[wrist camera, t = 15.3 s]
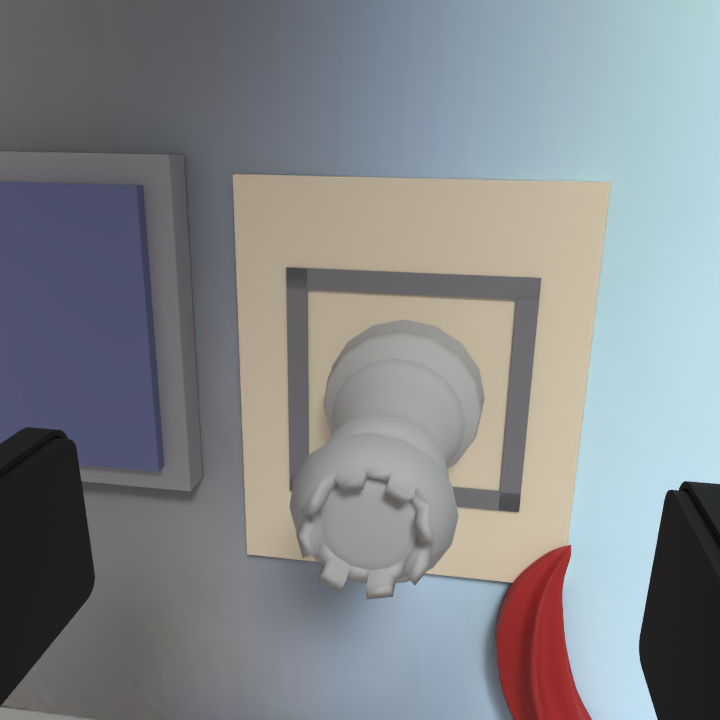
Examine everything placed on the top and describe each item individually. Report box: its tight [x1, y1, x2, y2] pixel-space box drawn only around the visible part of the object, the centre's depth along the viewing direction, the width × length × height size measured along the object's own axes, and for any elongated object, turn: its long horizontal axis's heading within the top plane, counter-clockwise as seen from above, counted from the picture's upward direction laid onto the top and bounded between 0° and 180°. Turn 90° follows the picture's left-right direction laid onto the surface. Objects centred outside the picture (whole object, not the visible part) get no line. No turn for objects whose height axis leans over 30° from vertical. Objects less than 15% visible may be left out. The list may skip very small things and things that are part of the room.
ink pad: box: [0, 151, 203, 492], centre depth 20 cm, size 10×8×1 cm
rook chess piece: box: [289, 320, 485, 599], centre depth 16 cm, size 4×4×8 cm
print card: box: [233, 174, 611, 583], centre depth 20 cm, size 12×10×1 cm
